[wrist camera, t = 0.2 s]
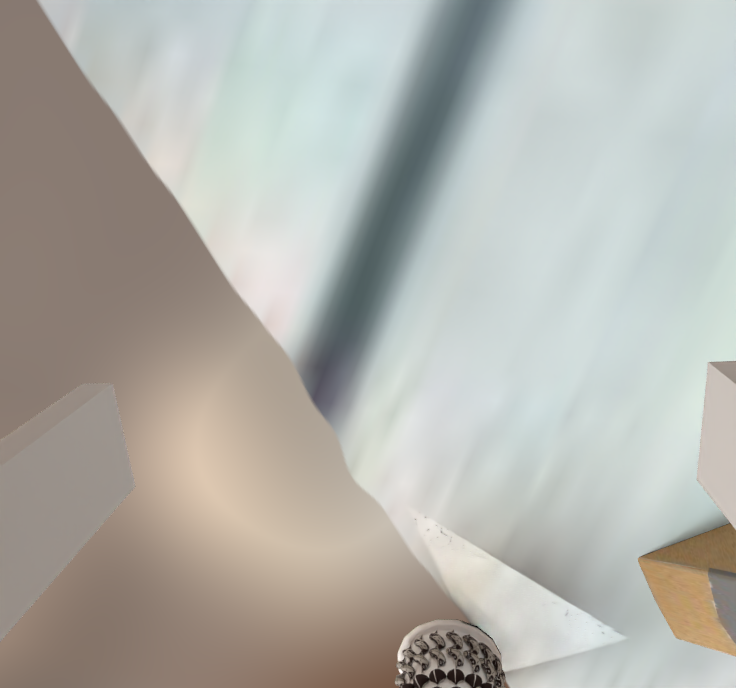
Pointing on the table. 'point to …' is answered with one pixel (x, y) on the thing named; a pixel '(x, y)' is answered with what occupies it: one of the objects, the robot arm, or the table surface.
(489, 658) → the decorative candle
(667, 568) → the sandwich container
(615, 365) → the table surface
